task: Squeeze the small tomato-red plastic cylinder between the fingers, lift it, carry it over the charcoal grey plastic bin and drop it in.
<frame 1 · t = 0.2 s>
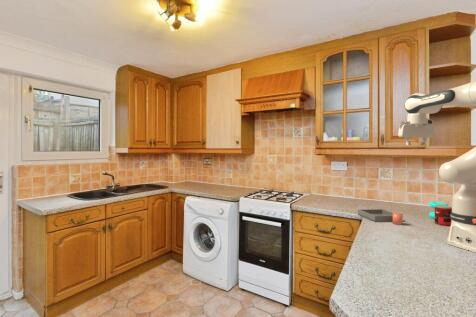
hand: (415, 145, 148), 47 cm above the countertop, tool pointing down, fingers open, 8 cm apart
grey bin: (378, 217, 165), on the countertop
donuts: (438, 218, 166), on the countertop
canned food: (442, 224, 151), on the countertop
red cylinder: (397, 223, 151), on the countertop
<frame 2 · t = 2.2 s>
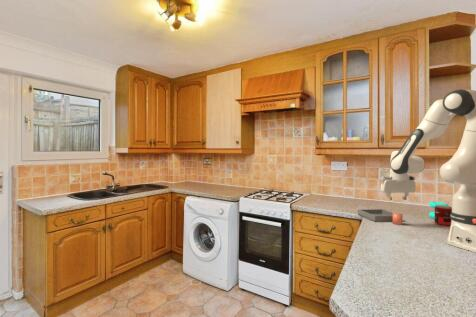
hand: (397, 199, 151), 14 cm above the countertop, tool pointing down, fingers open, 8 cm apart
nothing on the countertop moved.
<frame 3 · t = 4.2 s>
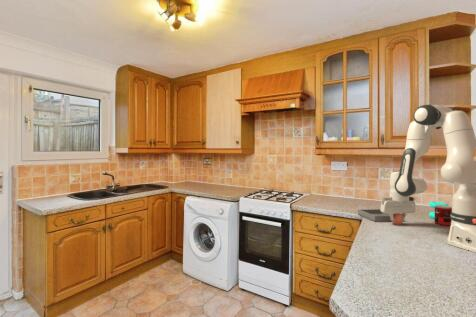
hand: (397, 220, 151), 2 cm above the countertop, tool pointing down, fingers closed on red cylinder, 5 cm apart
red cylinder: (397, 223, 151), on the countertop, touching gripper
everything else where it was.
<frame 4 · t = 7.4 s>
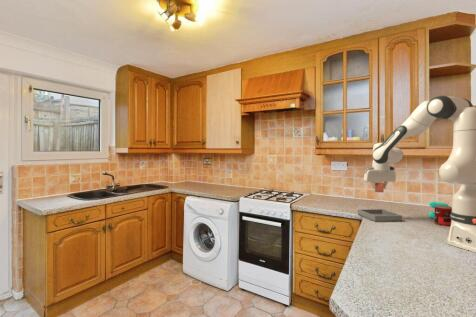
hand: (379, 188, 165), 19 cm above the countertop, tool pointing down, fingers closed on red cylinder, 5 cm apart
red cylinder: (379, 191, 165), point 17 cm above the countertop, touching gripper
everything else where it was.
when the fingers open (5 cm above the countertop, at t = 10.8 s): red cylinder drops 2 cm, resting on grey bin.
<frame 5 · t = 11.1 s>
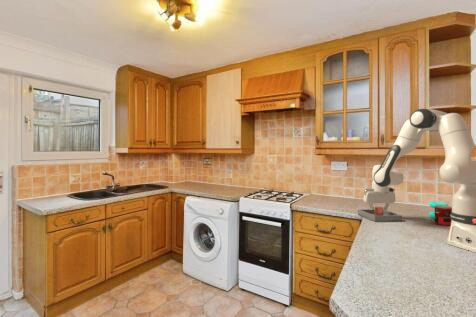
hand: (379, 209, 165), 5 cm above the countertop, tool pointing down, fingers open, 8 cm apart
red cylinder: (378, 216, 165), point 1 cm above the countertop, touching grey bin
everything else where it was.
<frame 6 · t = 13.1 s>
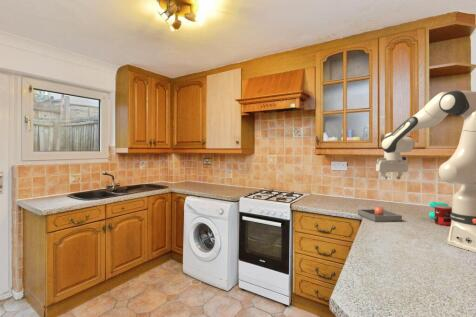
hand: (391, 179, 162), 26 cm above the countertop, tool pointing down, fingers open, 8 cm apart
nothing on the countertop moved.
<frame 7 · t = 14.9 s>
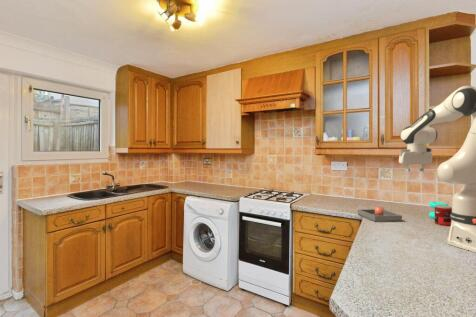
hand: (415, 171, 158), 31 cm above the countertop, tool pointing down, fingers open, 8 cm apart
nothing on the countertop moved.
at the end: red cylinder inside the target area on the grey bin (0.1 cm from its centre), point 0.8 cm above the grey bin's base; the gripper is holding nothing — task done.
